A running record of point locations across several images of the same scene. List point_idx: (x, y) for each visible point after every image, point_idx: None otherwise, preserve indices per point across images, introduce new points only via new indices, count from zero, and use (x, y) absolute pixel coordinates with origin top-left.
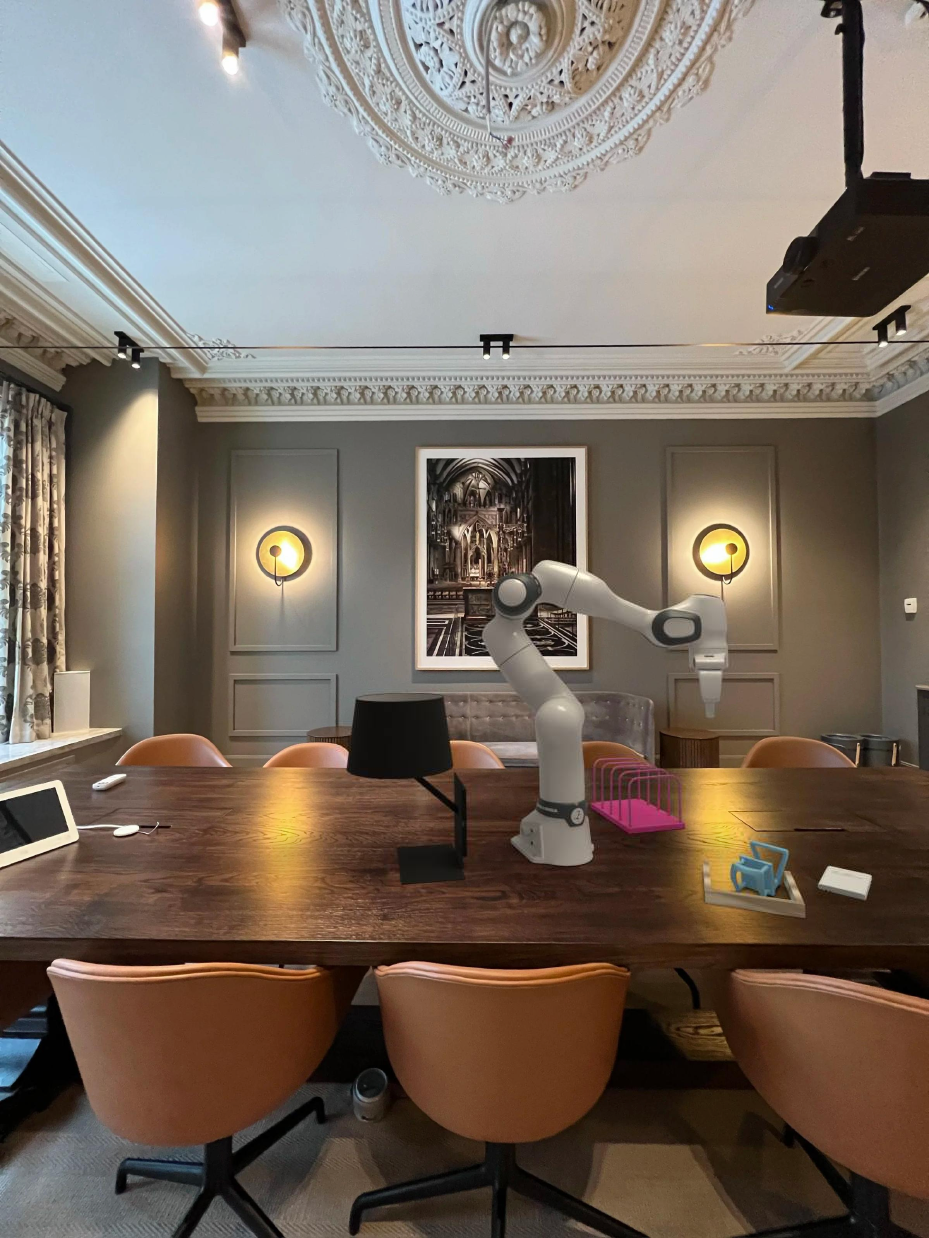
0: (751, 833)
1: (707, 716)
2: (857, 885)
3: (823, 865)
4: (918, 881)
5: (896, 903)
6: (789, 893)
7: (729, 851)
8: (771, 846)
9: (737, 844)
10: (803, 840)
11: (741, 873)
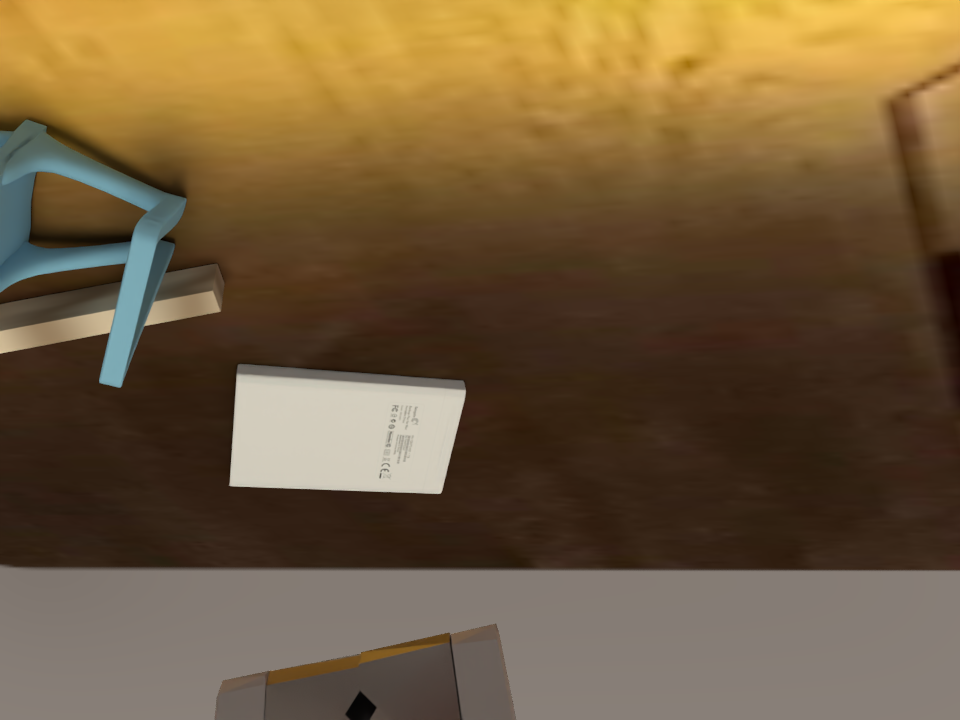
0: (848, 82)
1: (220, 701)
2: (304, 469)
3: (509, 366)
4: (496, 569)
5: (263, 532)
6: (77, 294)
7: (503, 5)
8: (122, 327)
9: (638, 32)
10: (801, 293)
11: (4, 144)
